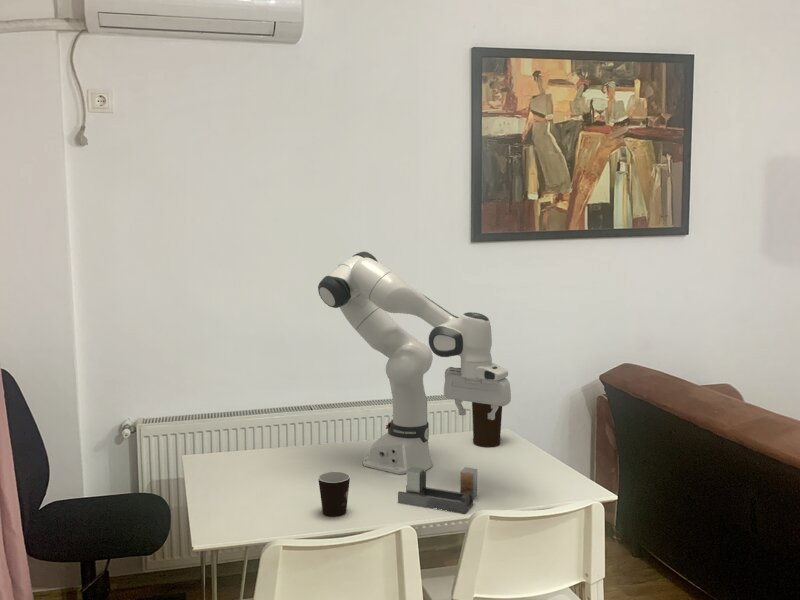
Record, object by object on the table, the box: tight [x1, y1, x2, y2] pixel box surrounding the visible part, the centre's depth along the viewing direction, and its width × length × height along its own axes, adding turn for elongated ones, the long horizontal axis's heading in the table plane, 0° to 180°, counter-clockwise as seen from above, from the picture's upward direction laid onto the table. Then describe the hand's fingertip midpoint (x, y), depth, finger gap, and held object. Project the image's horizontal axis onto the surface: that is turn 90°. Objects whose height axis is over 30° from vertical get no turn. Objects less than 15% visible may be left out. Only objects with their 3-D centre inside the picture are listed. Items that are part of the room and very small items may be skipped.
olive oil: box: [471, 402, 503, 448], centre depth 269 cm, size 11×11×25 cm
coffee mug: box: [317, 471, 351, 518], centre depth 210 cm, size 12×9×10 cm
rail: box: [397, 467, 474, 515], centre depth 215 cm, size 20×7×9 cm, turn 67°
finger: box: [459, 467, 478, 501], centre depth 220 cm, size 4×4×8 cm
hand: (476, 417), depth 220 cm, fingers open, 8 cm apart
